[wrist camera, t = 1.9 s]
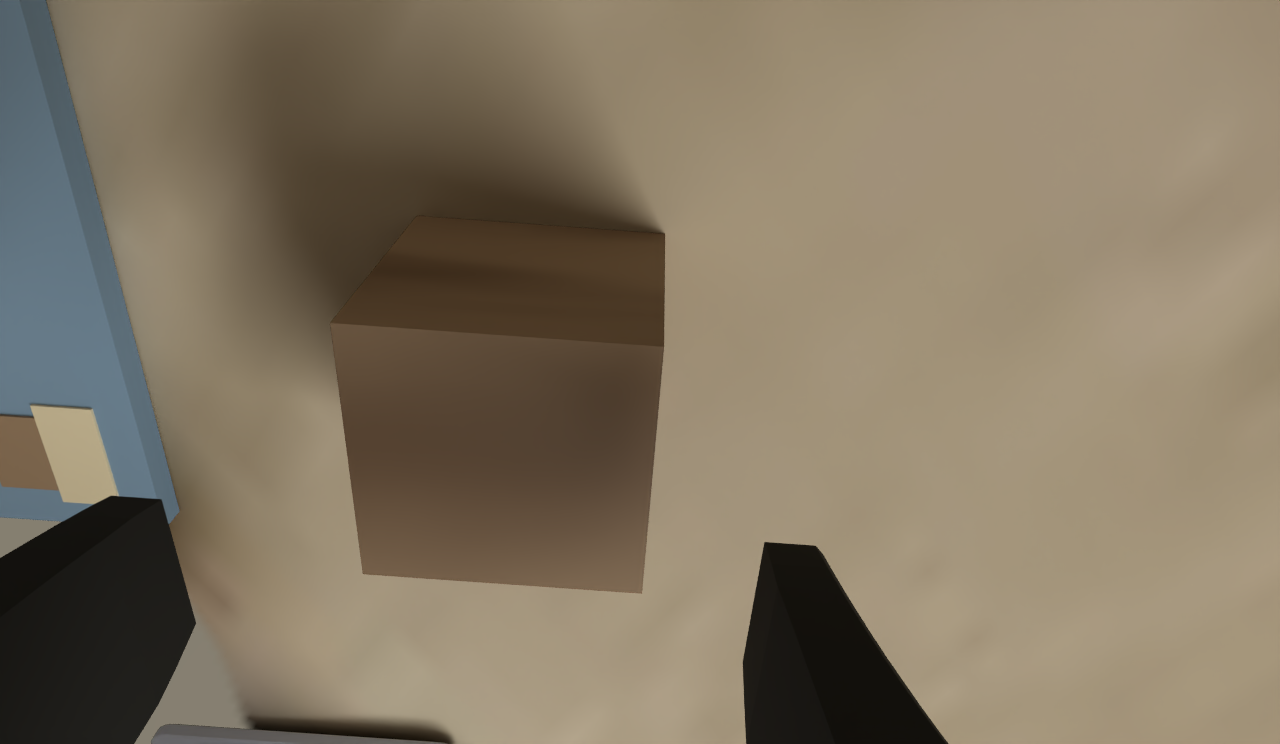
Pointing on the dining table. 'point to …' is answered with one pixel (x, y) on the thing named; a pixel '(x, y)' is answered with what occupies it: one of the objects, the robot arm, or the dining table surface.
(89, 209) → the board
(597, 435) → the walnut block
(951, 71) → the dining table surface
